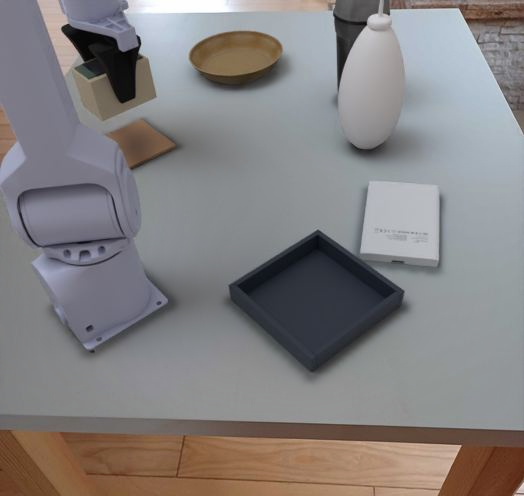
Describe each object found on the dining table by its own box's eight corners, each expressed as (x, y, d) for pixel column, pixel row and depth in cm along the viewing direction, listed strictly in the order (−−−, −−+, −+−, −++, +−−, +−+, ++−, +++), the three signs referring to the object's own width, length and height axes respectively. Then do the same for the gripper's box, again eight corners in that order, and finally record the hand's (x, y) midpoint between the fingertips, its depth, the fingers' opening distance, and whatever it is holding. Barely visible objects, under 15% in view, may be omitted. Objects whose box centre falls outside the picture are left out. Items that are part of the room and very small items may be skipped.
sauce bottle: (327, 135, 71) (335, -19, 56) (381, 124, 72) (403, -30, 57) (347, 167, 66) (361, 10, 52) (404, 156, 67) (434, -3, 53)
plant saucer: (227, 102, 77) (226, 85, 75) (173, 68, 84) (170, 51, 82) (302, 68, 82) (302, 50, 80) (245, 38, 89) (243, 22, 87)
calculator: (102, 121, 64) (89, 80, 60) (83, 106, 66) (69, 66, 62) (157, 97, 67) (148, 56, 63) (136, 83, 69) (126, 43, 65)
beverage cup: (388, 106, 74) (413, -67, 58) (342, 118, 73) (355, -55, 57) (364, 83, 78) (381, -85, 62) (320, 95, 77) (325, -73, 61)
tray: (311, 375, 48) (311, 359, 46) (230, 301, 54) (228, 285, 52) (401, 307, 52) (405, 290, 50) (317, 246, 58) (318, 229, 56)
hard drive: (437, 196, 62) (436, 270, 55) (367, 191, 63) (358, 262, 56) (440, 185, 61) (440, 259, 54) (369, 179, 62) (359, 251, 55)
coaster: (119, 175, 68) (118, 172, 68) (86, 146, 72) (85, 144, 72) (176, 147, 71) (175, 144, 71) (141, 121, 75) (141, 119, 75)
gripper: (149, -31, 52) (174, 101, 63) (81, -63, 59) (115, 61, 70) (87, -10, 50) (124, 123, 61) (24, -46, 57) (68, 80, 68)
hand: (116, 91), depth 65 cm, fingers closed on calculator, 5 cm apart
